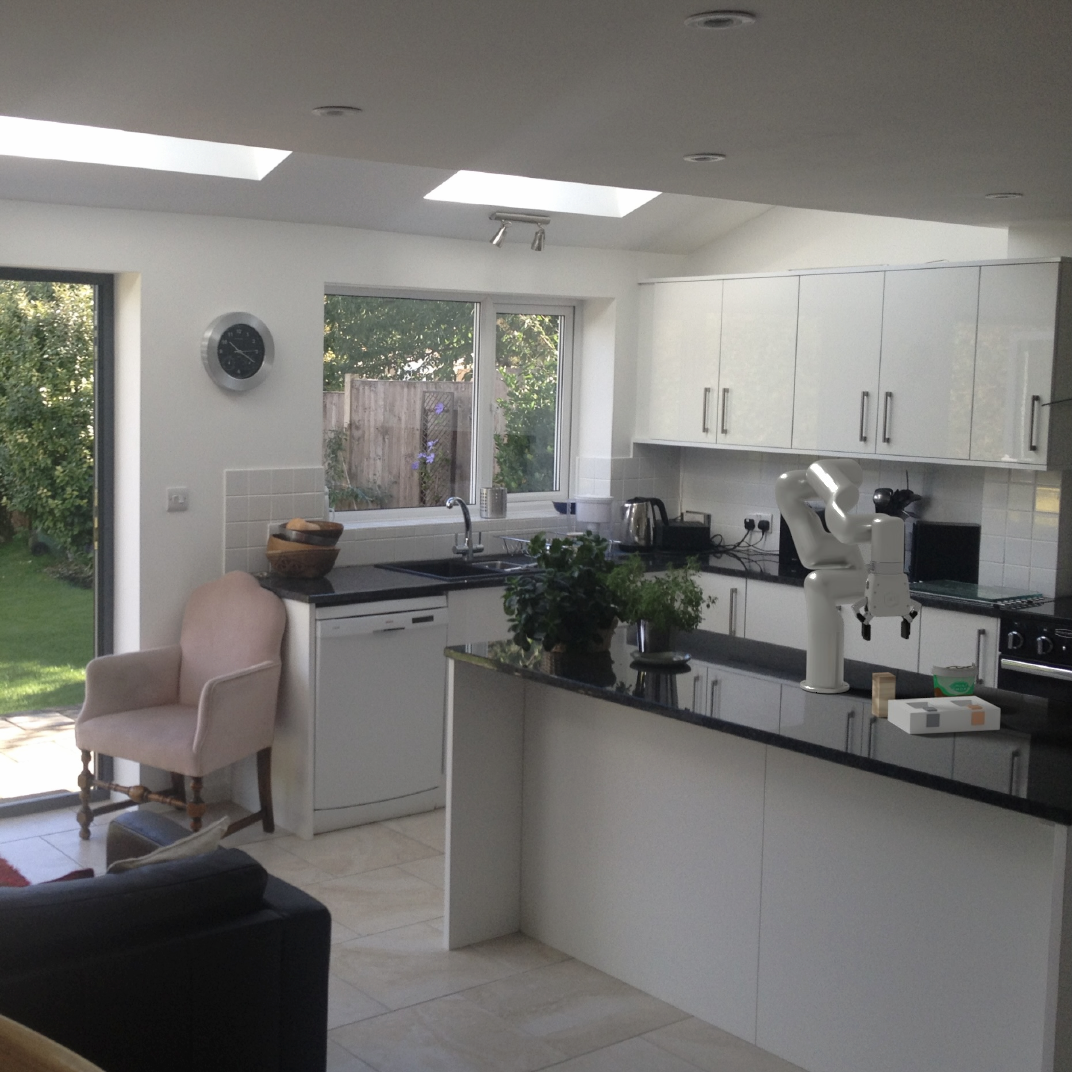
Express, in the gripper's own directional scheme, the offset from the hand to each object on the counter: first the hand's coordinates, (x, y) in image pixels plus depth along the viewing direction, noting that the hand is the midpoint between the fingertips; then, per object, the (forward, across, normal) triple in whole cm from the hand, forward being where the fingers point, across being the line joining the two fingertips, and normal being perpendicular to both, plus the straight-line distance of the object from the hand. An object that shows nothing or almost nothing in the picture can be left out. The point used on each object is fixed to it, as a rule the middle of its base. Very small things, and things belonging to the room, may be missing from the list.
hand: (885, 639), depth 306 cm
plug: (+19, 0, +1) cm, 19 cm away
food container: (+19, +22, +6) cm, 30 cm away
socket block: (+19, +10, -10) cm, 24 cm away
